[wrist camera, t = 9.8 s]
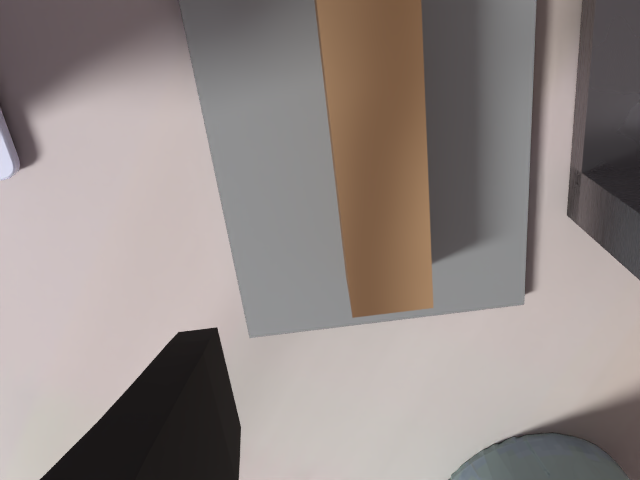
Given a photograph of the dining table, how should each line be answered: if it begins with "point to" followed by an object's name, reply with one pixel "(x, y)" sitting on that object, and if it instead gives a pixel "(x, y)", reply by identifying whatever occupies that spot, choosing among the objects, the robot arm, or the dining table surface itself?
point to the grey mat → (317, 164)
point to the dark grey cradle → (608, 130)
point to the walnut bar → (379, 149)
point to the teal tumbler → (541, 460)
